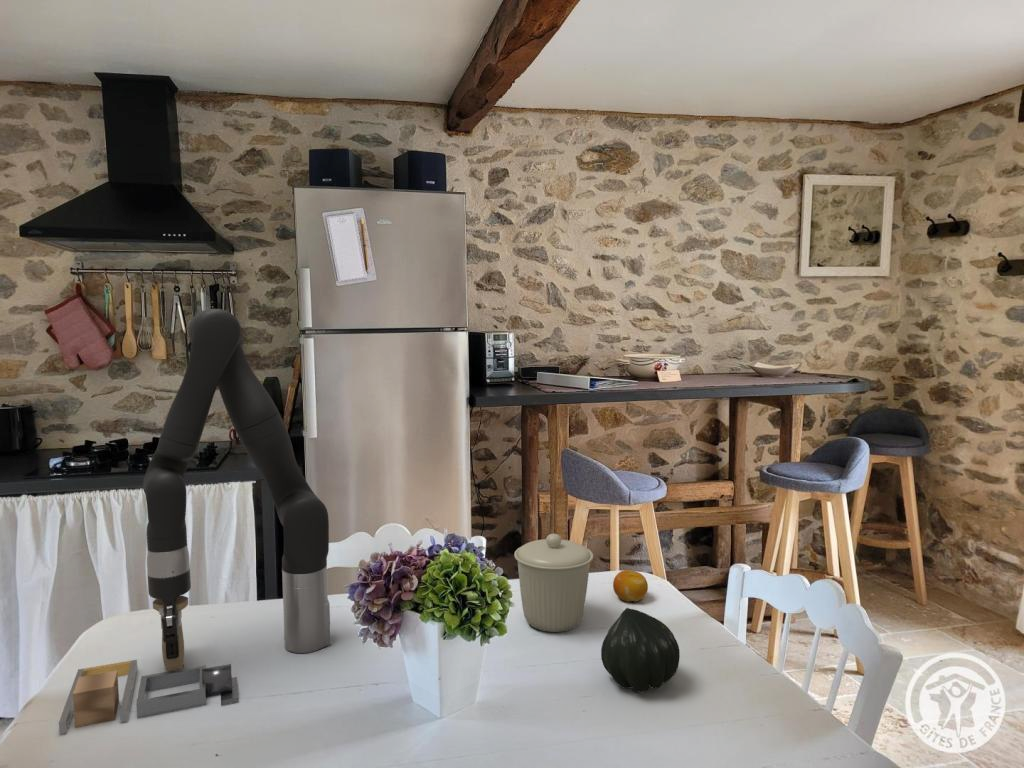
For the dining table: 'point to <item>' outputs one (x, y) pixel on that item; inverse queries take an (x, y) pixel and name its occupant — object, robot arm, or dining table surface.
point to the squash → (640, 651)
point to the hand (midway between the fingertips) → (173, 652)
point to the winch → (209, 684)
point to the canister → (553, 582)
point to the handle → (176, 662)
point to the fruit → (630, 585)
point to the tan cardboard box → (96, 698)
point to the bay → (121, 668)
